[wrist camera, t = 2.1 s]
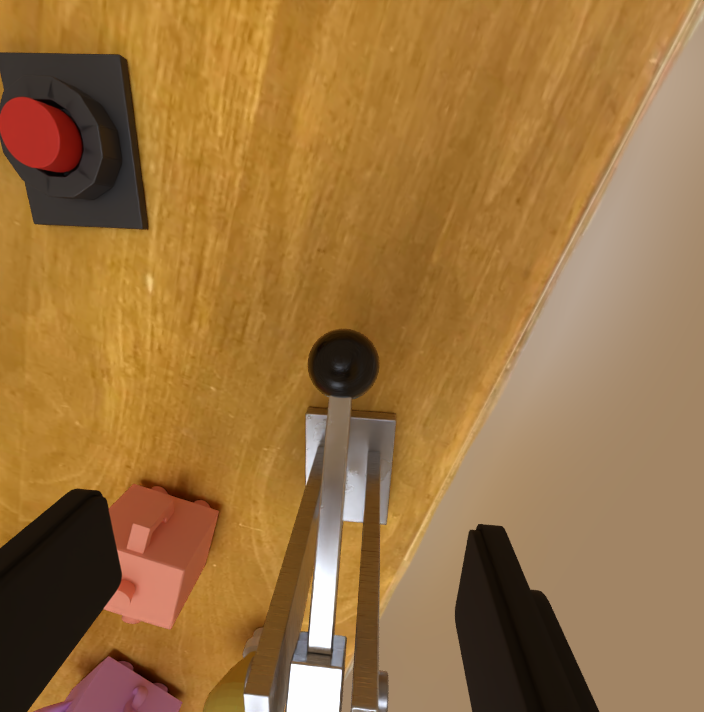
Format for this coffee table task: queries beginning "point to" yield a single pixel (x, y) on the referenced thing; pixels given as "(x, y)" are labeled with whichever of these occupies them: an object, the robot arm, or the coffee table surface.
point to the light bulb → (233, 682)
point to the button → (40, 135)
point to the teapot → (116, 692)
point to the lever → (330, 521)
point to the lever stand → (289, 599)
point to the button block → (99, 139)
